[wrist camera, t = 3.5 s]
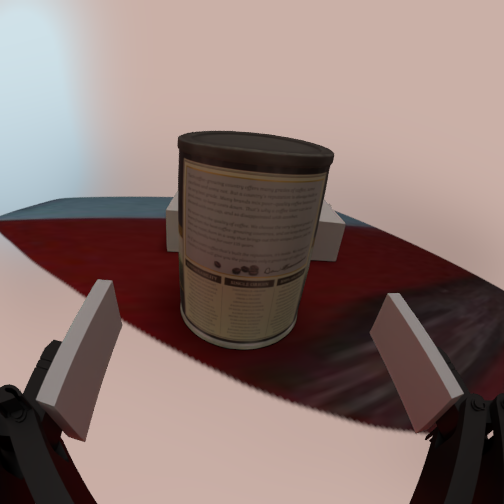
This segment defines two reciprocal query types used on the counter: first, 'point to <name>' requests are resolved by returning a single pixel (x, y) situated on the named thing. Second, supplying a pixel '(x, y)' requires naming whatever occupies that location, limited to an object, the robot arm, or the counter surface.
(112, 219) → the counter surface
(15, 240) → the counter surface
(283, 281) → the coffee can
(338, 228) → the kitchen scale
